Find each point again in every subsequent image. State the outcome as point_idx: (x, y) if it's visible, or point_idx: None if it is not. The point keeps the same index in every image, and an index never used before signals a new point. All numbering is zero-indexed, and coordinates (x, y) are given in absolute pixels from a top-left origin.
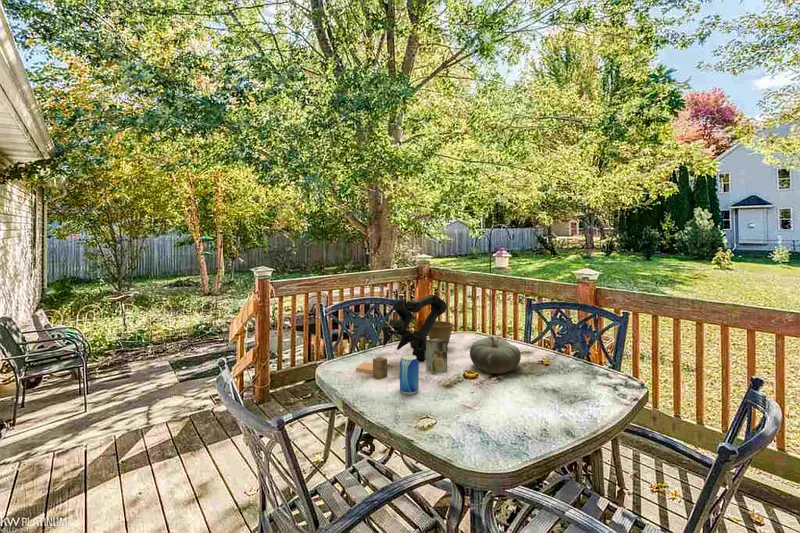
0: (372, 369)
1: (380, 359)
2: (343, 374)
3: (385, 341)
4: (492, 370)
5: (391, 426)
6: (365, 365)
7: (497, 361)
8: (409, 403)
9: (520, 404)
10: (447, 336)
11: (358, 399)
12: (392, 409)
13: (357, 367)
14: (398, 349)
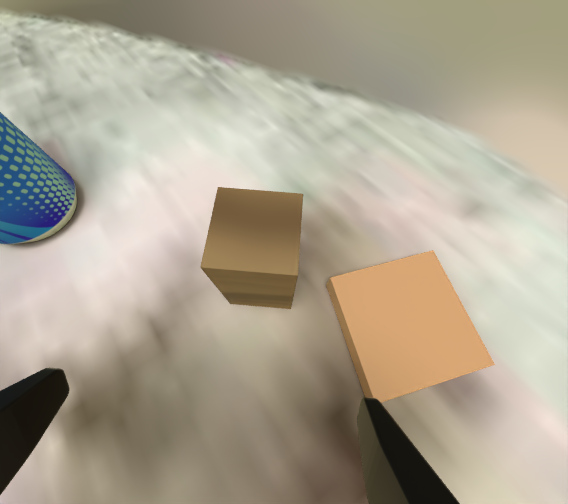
0: (337, 286)
1: (243, 219)
2: (435, 199)
3: (391, 496)
4: None
5: (29, 23)
6: (427, 316)
7: None
8: None
9: None
10: None
11: (204, 77)
12: (59, 79)
13: (432, 259)
14: (47, 395)
